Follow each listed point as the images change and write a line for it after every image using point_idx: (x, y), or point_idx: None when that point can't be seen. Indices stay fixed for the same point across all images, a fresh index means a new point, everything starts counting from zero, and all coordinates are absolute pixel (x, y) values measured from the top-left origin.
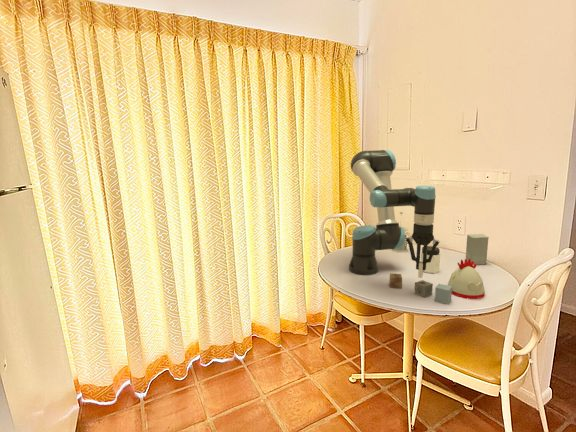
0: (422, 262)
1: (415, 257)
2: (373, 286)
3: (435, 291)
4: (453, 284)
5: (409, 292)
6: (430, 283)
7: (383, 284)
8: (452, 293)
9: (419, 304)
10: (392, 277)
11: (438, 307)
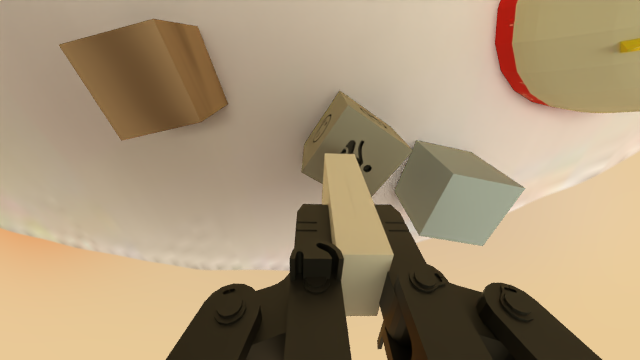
0: (375, 286)
1: (263, 350)
2: (81, 140)
3: (411, 219)
4: (563, 73)
5: (279, 143)
6: (399, 149)
7: None
8: (507, 76)
9: None
10: (134, 136)
11: None
